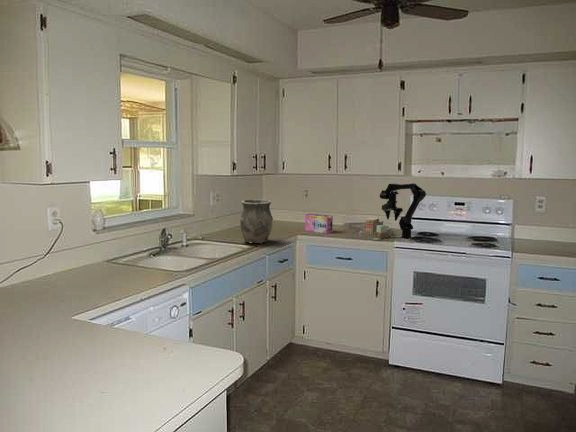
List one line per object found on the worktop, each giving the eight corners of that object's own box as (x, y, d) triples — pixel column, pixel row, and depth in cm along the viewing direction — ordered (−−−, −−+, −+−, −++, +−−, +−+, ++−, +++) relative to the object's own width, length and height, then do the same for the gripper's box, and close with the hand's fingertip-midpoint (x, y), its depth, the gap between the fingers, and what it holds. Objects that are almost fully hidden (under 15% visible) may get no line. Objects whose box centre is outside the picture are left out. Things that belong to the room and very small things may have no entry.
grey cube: (391, 235, 369) (391, 229, 368) (386, 235, 367) (386, 229, 366) (387, 234, 373) (387, 228, 373) (382, 234, 371) (382, 228, 371)
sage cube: (385, 232, 357) (386, 225, 357) (380, 232, 355) (380, 226, 354) (381, 231, 362) (381, 225, 361) (376, 232, 360) (376, 225, 359)
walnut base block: (388, 237, 357) (388, 232, 357) (380, 238, 354) (380, 233, 353) (382, 236, 364) (382, 231, 364) (373, 237, 361) (373, 231, 360)
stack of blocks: (376, 231, 389) (376, 216, 387) (383, 231, 385) (383, 216, 384) (365, 235, 371) (365, 219, 369) (372, 235, 368) (373, 220, 366)
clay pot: (236, 244, 331) (236, 201, 327) (245, 238, 353) (244, 198, 349) (268, 245, 327) (268, 202, 323) (275, 239, 349) (274, 199, 345)
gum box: (334, 232, 382) (334, 215, 380) (328, 233, 376) (328, 216, 374) (310, 229, 397) (310, 213, 395) (304, 230, 391) (304, 214, 389)
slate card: (383, 240, 348) (383, 239, 348) (375, 240, 345) (375, 239, 345) (377, 238, 354) (377, 237, 354) (369, 239, 351) (369, 238, 351)
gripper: (376, 199, 369) (375, 219, 371) (391, 201, 353) (391, 222, 355) (387, 198, 374) (387, 218, 376) (403, 200, 358) (402, 221, 360)
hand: (391, 220), depth 367 cm, fingers open, 9 cm apart
